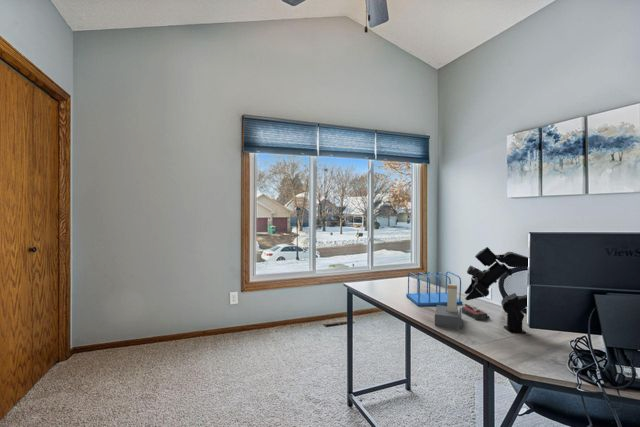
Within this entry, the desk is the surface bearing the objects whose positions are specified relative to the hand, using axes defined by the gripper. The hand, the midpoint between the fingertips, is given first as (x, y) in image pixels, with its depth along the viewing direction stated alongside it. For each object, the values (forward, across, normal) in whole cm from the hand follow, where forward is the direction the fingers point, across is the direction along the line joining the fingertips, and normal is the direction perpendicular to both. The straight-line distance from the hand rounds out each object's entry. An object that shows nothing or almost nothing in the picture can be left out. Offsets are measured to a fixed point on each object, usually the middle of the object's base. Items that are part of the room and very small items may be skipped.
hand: (465, 296), depth 147 cm
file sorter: (+20, -31, -2) cm, 37 cm away
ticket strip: (+10, 0, +2) cm, 10 cm away
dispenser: (+14, 0, +4) cm, 14 cm away
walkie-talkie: (+7, -16, +12) cm, 22 cm away
